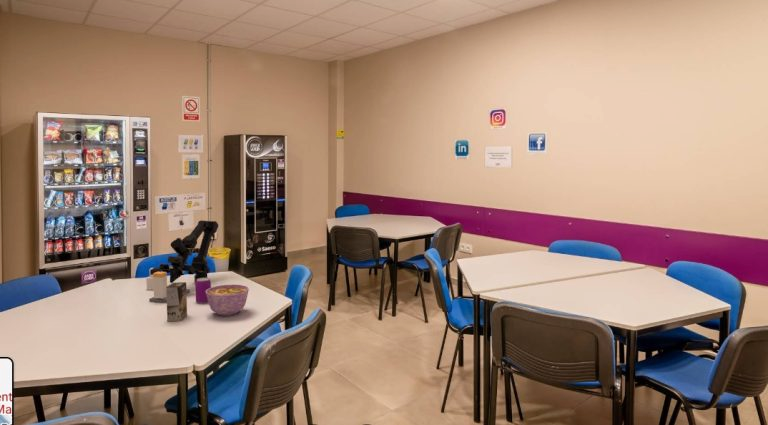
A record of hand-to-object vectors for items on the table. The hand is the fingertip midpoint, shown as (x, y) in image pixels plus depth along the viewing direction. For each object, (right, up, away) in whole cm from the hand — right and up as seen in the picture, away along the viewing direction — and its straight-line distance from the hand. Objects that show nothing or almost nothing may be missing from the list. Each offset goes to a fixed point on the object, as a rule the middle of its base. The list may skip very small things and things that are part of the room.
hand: (170, 282), depth 261 cm
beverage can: (+21, -9, -8) cm, 24 cm away
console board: (0, -8, 0) cm, 8 cm away
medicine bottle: (-15, -6, +16) cm, 23 cm away
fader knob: (-2, -6, -8) cm, 11 cm away
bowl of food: (+39, -11, -25) cm, 48 cm away
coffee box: (+18, -12, -34) cm, 40 cm away
